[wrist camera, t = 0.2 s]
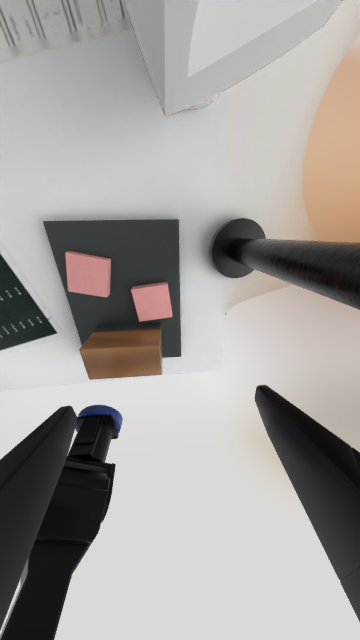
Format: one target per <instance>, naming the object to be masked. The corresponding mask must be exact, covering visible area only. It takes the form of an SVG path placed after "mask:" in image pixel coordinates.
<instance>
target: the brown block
mask: <svg viewBox="0 0 360 640" xmlns="http://www.w3.org/2000/svg"><path fill="white" fill-rule="evenodd" d="M80 353H81V356H82V359H83V362H84V365H85V368H86V371H87V374H88V377H89V379H104V378H120V377H135V376H150V375H162V359H163V345H162V331H161V323H159V324H138V325H117V326H97V327H96V328H95V330H94V331H93V333H92V334H91V335H90V337H89V338H88V339H87V341H86V342H85V343H84V345H83V346H82V347H81V349H80Z"/></svg>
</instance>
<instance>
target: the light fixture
mask: <svg viewBox="0 0 360 640" xmlns="http://www.w3.org/2000/svg"><path fill="white" fill-rule="evenodd" d="M342 1H343V0H124V2H125V5H126V8H127V11H128V14H129V17H130V20H131V23H132V26H133V29H134V32H135V35H136V37H137V40H138V43H139V46H140V49H141V52H142V55H143V58H144V61H145V64H146V66H147V69H148V72H149V75H150V77H151V80H152V83H153V86H154V89H155V91H156V94H157V97H158V99H159V102H160V105H161V107H162V110H163V112H164V115H165V117H166V116H169V115H172V114H175V113H177V112H180V111H182V110H185V109H187V108H189V109H198V108H202V107H205V106H207V105H208V104H210V103H211V102H213V101H214V100H215V99H216V98H217V96H218V95H219V94H220V92H222V91H224V90H226V89H228V88H230V87H231V86H233V85H235V84H237V83H238V82H240V81H242V80H244V79H245V78H247V77H249V76H250V75H252V74H254V73H255V72H257V71H258V70H260V69H262V68H263V67H265V66H266V65H268V64H270V63H271V62H273V61H274V60H276V59H277V58H279V57H280V56H282V55H283V54H285V53H286V52H288V51H289V50H291V49H292V48H294V47H295V46H296V45H298V44H299V43H301V42H302V41H304V40H305V39H306V38H308V37H309V36H311V35H312V34H313V33H315V32H316V31H317V30H319V29H320V28H321V27H323V26H324V25H325V24H326V22H327V21H328V20H329V18H330V17H331V16H332V14H333V13H334V12H335V10H336V9H337V8H338V6H339V5H340V4H341V2H342Z"/></svg>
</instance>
